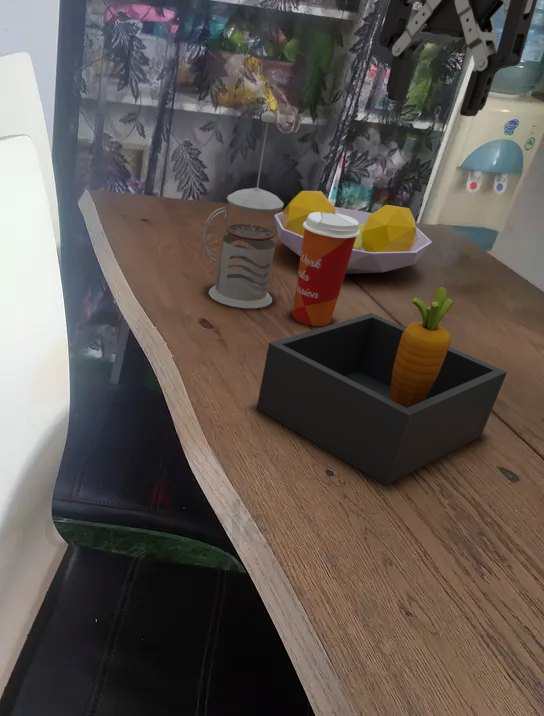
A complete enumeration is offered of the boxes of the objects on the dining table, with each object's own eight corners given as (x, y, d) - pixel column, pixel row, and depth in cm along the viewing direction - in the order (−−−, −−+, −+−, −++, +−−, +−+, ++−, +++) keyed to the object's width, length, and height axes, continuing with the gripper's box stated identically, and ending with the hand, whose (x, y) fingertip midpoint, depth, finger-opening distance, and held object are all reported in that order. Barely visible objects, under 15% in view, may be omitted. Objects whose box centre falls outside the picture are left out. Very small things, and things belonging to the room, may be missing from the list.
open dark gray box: (354, 373, 93) (371, 312, 88) (481, 436, 83) (507, 371, 78) (256, 408, 83) (268, 342, 78) (385, 485, 73) (409, 415, 68)
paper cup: (280, 306, 110) (299, 208, 101) (330, 309, 110) (353, 212, 102) (291, 327, 103) (312, 225, 95) (344, 330, 104) (369, 229, 96)
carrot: (402, 440, 78) (447, 304, 69) (366, 419, 81) (405, 286, 72) (430, 429, 81) (477, 296, 72) (395, 409, 84) (436, 279, 75)
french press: (276, 310, 108) (312, 121, 93) (198, 304, 107) (221, 112, 92) (268, 287, 116) (300, 109, 101) (195, 281, 115) (216, 100, 100)
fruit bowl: (334, 231, 145) (348, 170, 138) (450, 276, 129) (472, 209, 122) (229, 248, 130) (239, 180, 123) (346, 301, 114) (364, 226, 107)
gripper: (585, -93, 62) (513, 120, 72) (441, -98, 71) (394, 94, 80) (543, -106, 58) (473, 123, 68) (395, -108, 66) (351, 95, 76)
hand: (430, 107), depth 74 cm, fingers open, 8 cm apart
